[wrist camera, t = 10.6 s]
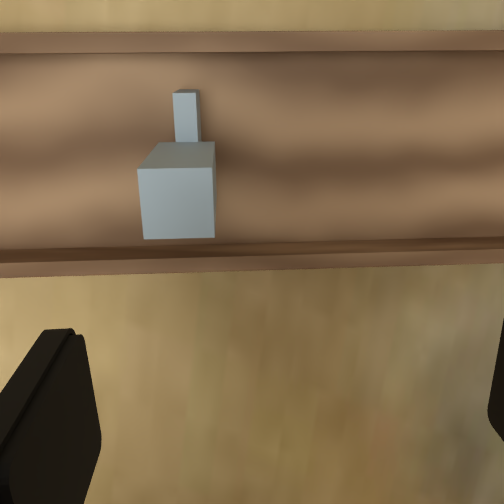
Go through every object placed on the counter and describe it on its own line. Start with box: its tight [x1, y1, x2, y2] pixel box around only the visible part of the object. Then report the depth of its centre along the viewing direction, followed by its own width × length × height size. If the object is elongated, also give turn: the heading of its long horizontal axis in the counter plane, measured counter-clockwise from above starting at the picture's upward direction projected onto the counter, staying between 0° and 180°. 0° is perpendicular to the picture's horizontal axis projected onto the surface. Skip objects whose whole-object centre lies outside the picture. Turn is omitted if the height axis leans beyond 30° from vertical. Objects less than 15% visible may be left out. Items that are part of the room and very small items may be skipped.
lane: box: [0, 30, 504, 278], centre depth 28 cm, size 14×50×6 cm, turn 90°
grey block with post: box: [137, 89, 217, 239], centre depth 25 cm, size 8×3×11 cm, turn 0°
